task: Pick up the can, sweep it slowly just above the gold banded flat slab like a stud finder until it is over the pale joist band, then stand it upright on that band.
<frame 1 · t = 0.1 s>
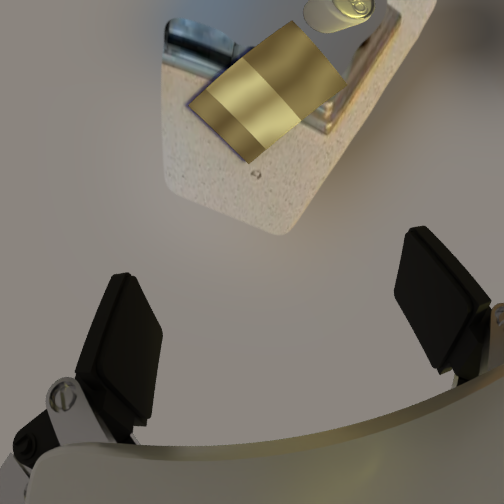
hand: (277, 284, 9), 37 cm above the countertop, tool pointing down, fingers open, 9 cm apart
can: (322, 15, 31), on the countertop
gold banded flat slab: (268, 90, 38), on the countertop
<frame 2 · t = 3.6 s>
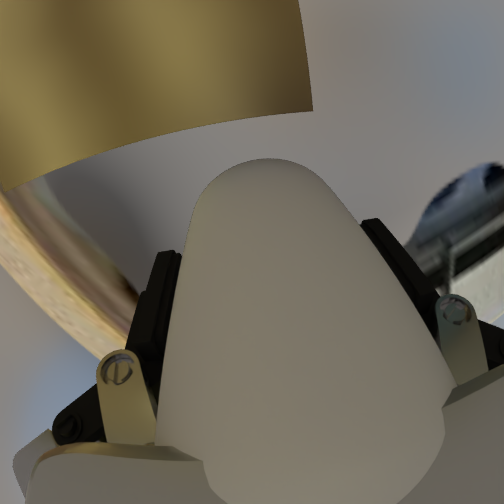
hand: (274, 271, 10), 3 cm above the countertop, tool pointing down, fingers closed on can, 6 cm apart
can: (265, 224, 13), on the countertop, touching gripper
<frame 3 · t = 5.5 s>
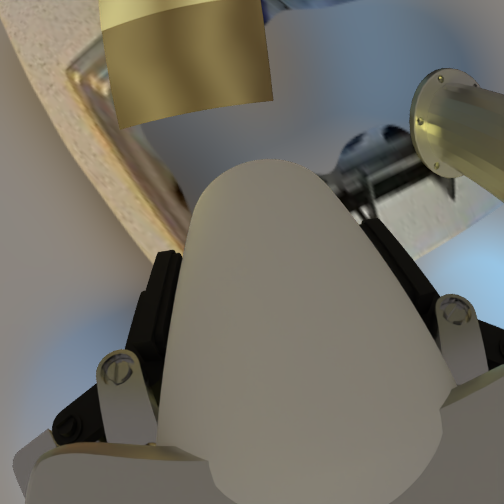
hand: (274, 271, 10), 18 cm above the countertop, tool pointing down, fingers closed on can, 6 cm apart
can: (265, 224, 13), point 14 cm above the countertop, touching gripper
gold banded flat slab: (179, 7, 16), on the countertop
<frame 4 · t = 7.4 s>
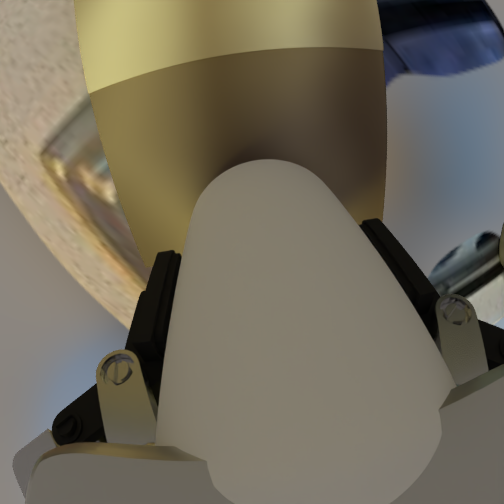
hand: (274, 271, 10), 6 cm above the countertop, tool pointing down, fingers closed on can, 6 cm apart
can: (264, 224, 13), point 3 cm above the countertop, touching gripper
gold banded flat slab: (233, 46, 10), on the countertop
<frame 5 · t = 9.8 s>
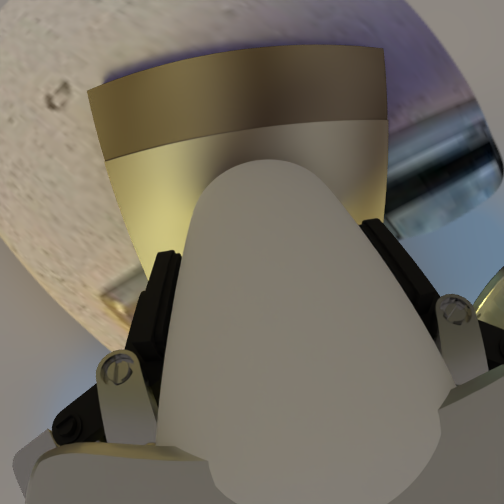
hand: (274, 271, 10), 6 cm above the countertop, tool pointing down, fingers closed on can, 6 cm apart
can: (264, 224, 13), point 2 cm above the countertop, touching gripper
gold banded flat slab: (261, 240, 16), on the countertop
when the fingers open (5 cm above the countertop, at t = 11.5 s): can stays where it is, resting on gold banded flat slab.
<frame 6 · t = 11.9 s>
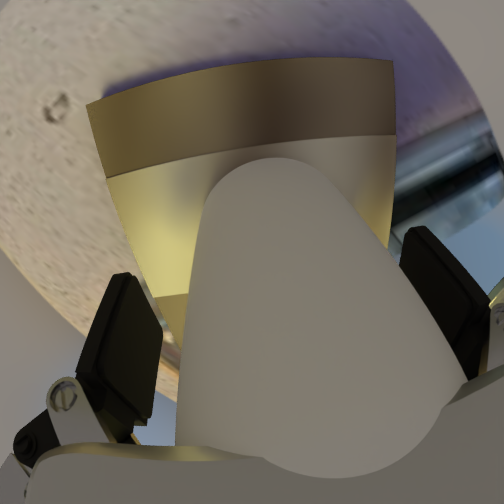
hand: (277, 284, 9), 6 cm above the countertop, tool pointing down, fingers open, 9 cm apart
can: (271, 221, 13), point 1 cm above the countertop, touching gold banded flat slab
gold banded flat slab: (266, 255, 16), on the countertop
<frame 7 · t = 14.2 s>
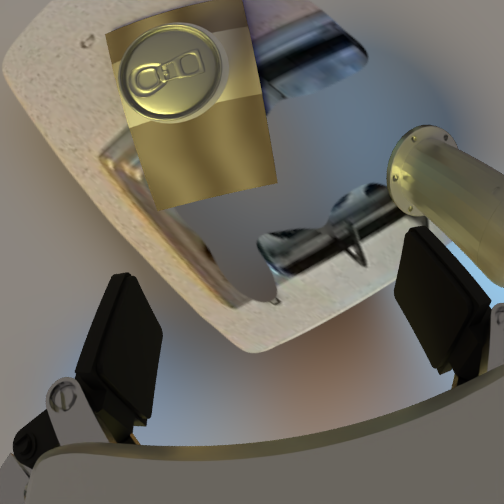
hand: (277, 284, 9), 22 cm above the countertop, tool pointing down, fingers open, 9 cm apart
can: (189, 74, 22), point 1 cm above the countertop, touching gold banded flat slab
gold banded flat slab: (193, 102, 25), on the countertop
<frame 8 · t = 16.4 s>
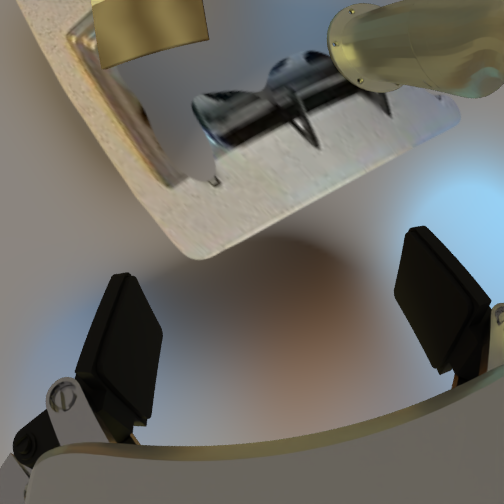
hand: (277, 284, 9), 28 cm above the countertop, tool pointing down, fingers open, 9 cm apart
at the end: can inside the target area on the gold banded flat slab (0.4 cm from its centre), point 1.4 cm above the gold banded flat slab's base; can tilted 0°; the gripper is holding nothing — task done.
